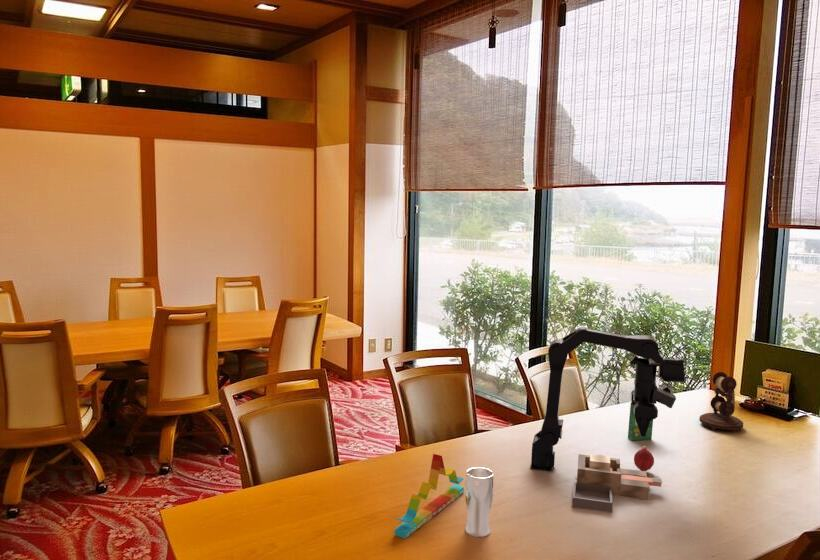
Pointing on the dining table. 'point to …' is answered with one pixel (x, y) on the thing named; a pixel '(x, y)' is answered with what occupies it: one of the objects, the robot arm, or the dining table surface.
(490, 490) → the beer glass
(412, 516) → the chart
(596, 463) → the block
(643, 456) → the onion
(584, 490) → the tray
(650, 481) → the lever
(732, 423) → the brown roll holder stand
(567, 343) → the robot arm
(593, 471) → the brown wooden lever base
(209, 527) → the dining table surface
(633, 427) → the coffee box
